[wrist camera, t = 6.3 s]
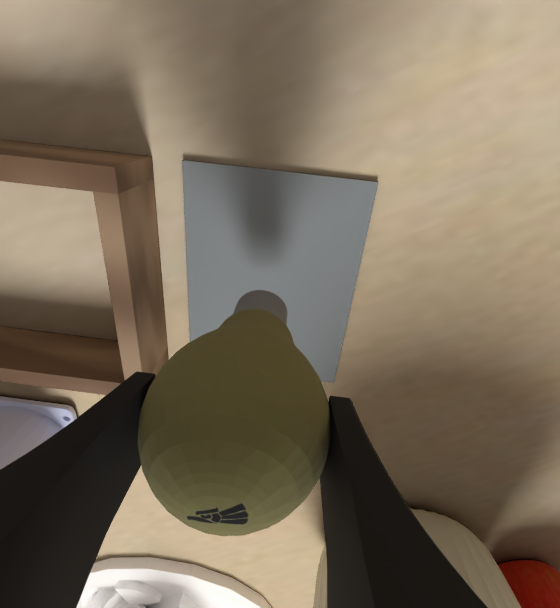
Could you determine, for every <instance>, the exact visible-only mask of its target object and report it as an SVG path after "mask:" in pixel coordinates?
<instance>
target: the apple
mask: <svg viewBox="0 0 560 608" xmlns="http://www.w3.org/2000/svg"><path fill="white" fill-rule="evenodd" d="M498 566H499V568H500V570H501V572H502V573H503V575H504V577H505V579H506V580H507V582H508V584H509V586H510V588H511V590H512V591H513V593H514V595H515V597H516V599H517V601H518V602H519V604H520V606H521V608H560V573H559V572H558V571H557V570H555V569H554V568H553V567H551V566H550V565H549V564H546V563H543V562H540V561H535V560H514V561H509V562H504V563H502V564H500V565H498Z"/></svg>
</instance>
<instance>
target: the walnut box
mask: <svg viewBox="0 0 560 608" xmlns="http://www.w3.org/2000/svg"><path fill="white" fill-rule="evenodd" d="M0 181H6V182H15V183H24V184H32V185H41V186H50V187H59V188H67V189H76V190H85V191H93V194H94V200H95V206H96V212H97V218H98V224H99V230H100V236H101V242H102V248H103V254H104V260H105V266H106V272H107V278H108V284H109V290H110V296H111V302H112V308H113V314H114V320H115V326H116V332H117V338H118V341H114V340H106V339H98V338H89V337H81V336H73V335H65V334H57V333H49V332H41V331H33V330H25V329H17V328H9V327H1V326H0V381H1V382H9V383H17V384H25V385H33V386H40V387H48V388H56V389H64V390H72V391H79V392H87V393H95V394H103V395H107V394H109V393H110V392H111V391H112V390H114V389H115V388H116V387H117V386H119V385H120V384H121V383H122V382H124V381H125V380H126V379H127V378H129V377H130V376H131V375H132V374H134V373H135V372H136V371H137V372H145V373H153V374H155V377H156V375H157V374H158V372H159V371H160V369H161V368H162V367H163V366H164V365H165V364H166V362H167V361H168V348H167V336H166V324H165V312H164V299H163V287H162V275H161V263H160V251H159V239H158V226H157V214H156V202H155V190H154V178H153V166H152V156H144V155H135V154H126V153H117V152H108V151H99V150H90V149H81V148H72V147H63V146H54V145H45V144H36V143H27V142H18V141H9V140H0Z"/></svg>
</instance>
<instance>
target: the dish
mask: <svg viewBox="0 0 560 608" xmlns="http://www.w3.org/2000/svg"><path fill="white" fill-rule="evenodd" d="M77 608H272V607H271V606H270V605H269V604H268V603H267V601H266V600H265V599H264V598H263V597H262V595H260V594H258V593H257V592H255V591H253V590H252V589H250V588H248V587H247V586H245V585H244V584H242V583H240V582H239V581H237V580H235V579H234V578H231V577H229V576H226V575H223V574H220V573H217V572H214V571H211V570H209V569H206V568H203V567H200V566H197V565H194V564H189V563H183V562H177V561H171V560H165V559H159V558H153V557H130V558H109V559H106V560H102V561H99V562H95V563H94V564H93V567H92V569H91V572H90V574H89V577H88V579H87V582H86V584H85V587H84V590H83V592H82V595H81V597H80V600H79V602H78V605H77Z"/></svg>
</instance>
